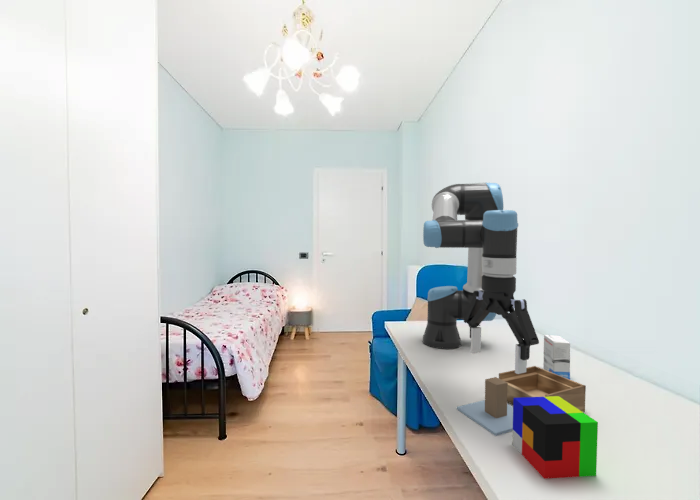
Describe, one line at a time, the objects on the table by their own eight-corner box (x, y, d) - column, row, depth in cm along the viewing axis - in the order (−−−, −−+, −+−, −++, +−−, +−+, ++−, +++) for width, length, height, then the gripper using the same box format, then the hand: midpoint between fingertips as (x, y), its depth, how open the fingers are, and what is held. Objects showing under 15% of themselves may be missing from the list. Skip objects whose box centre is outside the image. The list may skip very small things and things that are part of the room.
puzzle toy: (512, 444, 69) (513, 397, 69) (557, 442, 70) (558, 396, 70) (544, 479, 59) (545, 424, 59) (596, 476, 60) (597, 422, 60)
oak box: (498, 396, 90) (498, 373, 90) (534, 388, 96) (534, 365, 96) (546, 423, 77) (547, 395, 77) (584, 411, 83) (585, 385, 83)
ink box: (570, 381, 101) (571, 343, 100) (552, 379, 102) (553, 341, 101) (558, 370, 109) (559, 335, 109) (542, 369, 110) (543, 334, 110)
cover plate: (456, 410, 84) (457, 375, 83) (495, 400, 89) (496, 367, 89) (495, 437, 72) (496, 397, 72) (537, 424, 77) (538, 386, 77)
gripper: (451, 270, 89) (449, 347, 91) (534, 283, 66) (531, 386, 68) (472, 268, 92) (471, 343, 94) (559, 281, 69) (556, 380, 71)
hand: (496, 361), depth 81 cm, fingers open, 13 cm apart
